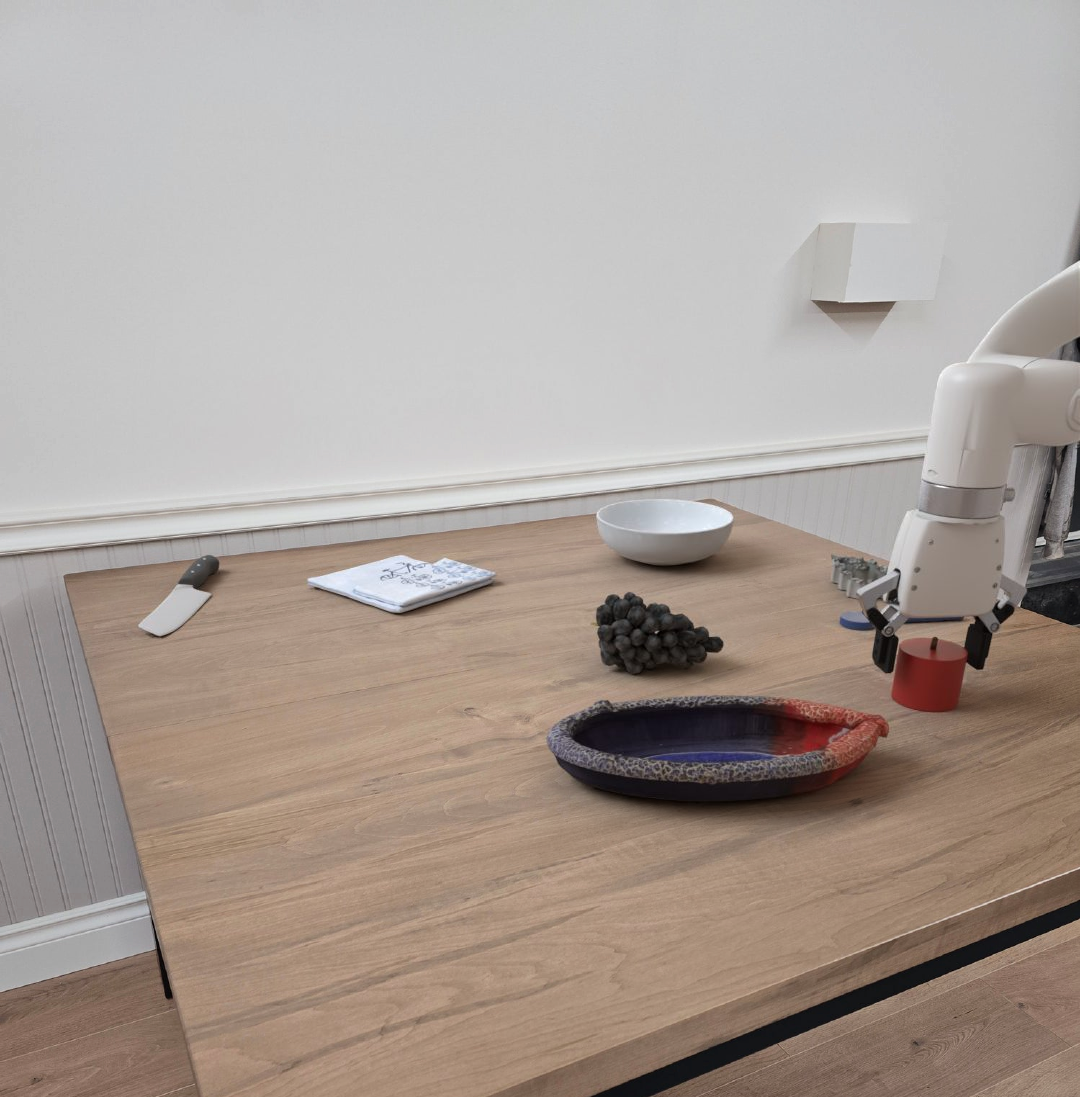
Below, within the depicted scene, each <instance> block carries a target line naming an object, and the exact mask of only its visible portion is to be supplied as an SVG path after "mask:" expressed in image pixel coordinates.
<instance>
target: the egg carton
mask: <svg viewBox="0 0 1080 1097" xmlns="http://www.w3.org/2000/svg"><path fill="white" fill-rule="evenodd" d="M830 557H831V561H832V565H831V571H830V572H831V573H830V582H831V583H833V584H838V585H837V589H839V590H840V591H846V593H845V594H846V596H845V597H848V598H852V599H856V600H858V598H857V595H856V592H857V590H858V589H860V588H862V587H864V586H866V585H868V584H870V583H871V582H873V581H875V580H877V579H879V578H881V577H883V576H885V575H887V571H888V567H889V566H886V565H883V564H878V561H877V560H876V559H874V558H870V559H869V561H868V560H864V559H865V558H864V556H860V557H858V558H857V557H856V556H850V557H849V556H847V555H844V556H837V555H834V554H832V553H831V554H830ZM879 598H880V599H882V600H883V595H882V596H880V597H878V599H879Z"/></svg>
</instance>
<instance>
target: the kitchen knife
mask: <svg viewBox="0 0 1080 1097" xmlns="http://www.w3.org/2000/svg"><path fill="white" fill-rule="evenodd" d="M219 569H220V561H219V558H217V557H215V556H213V555H211V554H205V555H204V556H201V557H199V558H197V559H196V560H195V561H194V562H193V563H192V564H191V565H189V567H188V568H187V569H186V571H184V573H183V574H182V575H181V576H180V578H179V580H178V581H177V584H176V586H175V587H174V588H173V590H172V591H171V592H170V593H169V594H168V596H166V597H165V599H164V600H163V601H162V602H161V603H160V604H159V605H158V606H157V607H156V608H155V609H153V611H151V612H150V613H149V614H148V615H147V616H146V617H145V618H143V620H141V621H140V623H138V626H137V627H138V628H139V629H141V630H143V631H145V632H148V633H150V634H152V635H155V636H157V637H162V636H163V637H164V636H165V635H168V634H170V633H172V632H174V631H176V630H178V629H179V628H181V626H183V625H184V624H185V623H186V622H187V621H188V620H189V619H190V618H192V617H193V615H195V614H196V612H198V610H200V609H201V607H202V606H203V605H204V604H205V603H206V602H207V601H208V599H209V598H210V597H211V596H212V593H210V592H207V591H202V590H199V589H197V588H199V587H200V586H202V585H203V584H204V582H205V581H206V579H207V577H208V576H209V575H212V574H217V573H218V572H219Z"/></svg>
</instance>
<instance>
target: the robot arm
mask: <svg viewBox="0 0 1080 1097" xmlns="http://www.w3.org/2000/svg"><path fill="white" fill-rule="evenodd" d="M1078 338H1080V260H1078V261H1076V262H1075V263H1073V264H1072V265H1070V266H1068V267H1067V268H1065V269H1063V270H1061V272H1059V273H1057V274H1056V275H1054V276H1053V277H1051V278H1049V280H1047V281H1046V282H1044V283H1043V284H1041V285H1040V286H1038V287H1037V288H1035V289H1033V290H1032V291H1031V292H1029V293H1028V294H1026V295H1025V296H1024V297H1022V298H1021V299H1020V300H1018V301H1017V302H1016V303H1014V304H1013V305H1012V306H1011V307H1010V308H1009V309H1008V310H1007V311H1006V312H1005V313H1004V314H1003V315H1001V316H1000V317H999V319H998V320H997V321H996V323H994V325H992V327H991V328H990V330H989V331H988V332H987V334H985V336H984V337H983V338H982V340H981V341H980V343H979V344H978V345H977V346H976V348H975V349H974V351H973V352H972V353H971V355H970V356H969V358H968V359H967V361H966V362H957V363H953V364H950V365H947V366H946V367H945V368H944V369H943V370H942V371H941V373H940V374H939V376H938V379H937V384H936V388H935V393H934V399H933V404H932V405H933V406H932V411H931V418H930V423H929V429H928V435H927V441H926V446H925V453H924V459H923V462H922V463H923V464H922V470H921V475H920V481H919V487H918V494H917V498H916V500H917V501H916V506H915V509H914V510H908V511H906V513H905V515H904V518H903V519H902V522H901V525H900V527H899V529H898V533H897V535H896V538H895V541H894V545H893V548H892V551H891V555H890V558H889V564H888V566H887V567H888V571H887V575H885V576H883V577H881V578H879V579H877V580H875V581H873V582H871V583H870V584H868V585H866V586H864V587H862V588H860V589H858V590H857V592H856V595H857V598H858V599H857V598H856V599H857V601H858V604H859V606H860V608H861V612H862V613H863V615H864V616H865V617H866V618H867V619H868V620H869V621H870V623H871V624H872V625H873V627H875V628H874V629H875V634H874V641H873V646H872V652H871V658H872V662H873V664H874V666H876V667H877V668H878V669H880V670H881V672H882V673H884V674H892V673H893V672H894V671H895V666H896V660H897V654H898V648H899V640H900V639H899V636H898V635H897V634H896V632H897V631H898V630H899V629H900V628H902V626H903V625H904V624H905V623H907V622H906V621H907V620H908V619H909V618H944V617H964V618H966V617H968V618H969V617H971V618H972V619H973V621H974V623H969V625H968V626H967V631H966V635H965V639H964V644H963V647H964V648H965V649H966V650H967V652H968V656H967V661H966V664H968V665H969V666H970V667H972V668H973V669H975V670H976V671H981V670H984V668H985V664H986V660H987V658H988V657H989V653H990V648H991V643H992V639H993V635H994V634H996V633H998V632H999V631H1000V629H1001V625H1002V624H1003V623H1004V622H1005V621H1007V620H1008V619H1009V618H1010V617H1011V616H1013V615H1014V614H1015V609H1016V607H1018V605H1020V602H1021V601H1022V600H1023V599H1024V597H1025V596H1026V595H1027V593H1028V589H1027V588H1026V587H1025V586H1024V585H1022V584H1020V583H1018V582H1017V581H1015V580H1014V579H1012V578H1010V577H1008V576H1006V575H1004V574H1003V568H1004V560H1005V549H1006V548H1005V547H1006V523H1005V522H1006V520H1005V516H1003V515H1001V512H1002V511H1003V506H1004V504H1005V503H1006V502H1007V503H1011V502H1013V501H1014V500H1015V497H1016V490H1015V488H1014V487H1008V483H1007V482H1008V477H1009V471H1010V467H1011V463H1012V458H1013V453H1014V448H1015V446H1016V445H1018V444H1027V445H1036V446H1045V447H1060V446H1061V447H1062V446H1068V445H1071V444H1074V443H1077V442H1080V362H1078V361H1072V360H1066V359H1065V360H1063V359H1054V358H1053V359H1052V358H1047V357H1048V356H1050V355H1051V354H1052V353H1054V352H1055V351H1057V349H1059V348H1061V347H1063V346H1064V345H1066V344H1068V343H1070V342H1072V341H1074V340H1075V339H1078ZM1000 589H1001V590H1003V594H1002V596H1001V600H998V596H999V592H1000ZM882 595H883V599H882V600H883V602H884V603H885V604H887V605H886V606H885V607H884V608H882V609H881V611H880V610H879V609H878V604H877V600H878V599H879V597H880V596H882ZM997 600H998V601H997Z"/></svg>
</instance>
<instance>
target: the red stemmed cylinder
mask: <svg viewBox="0 0 1080 1097" xmlns="http://www.w3.org/2000/svg"><path fill="white" fill-rule="evenodd" d="M967 656H968V652H967V650H966V649H965V648H964V646H962V645H960V644H958V643H955V642H953V641H949V640H946V639H941V638H939V637H938V636H933V637H911V638H908V639H907V638H906V639H904V640H902V641H901V642H900V643H898V649H897V655H896V661H895V667H894V675H893V680H892V689H891V693H890V695H891V698H892V699H893V701H895V702H896V703H897V704H900V705H901V706H903V707H905V708H909V709H911V710H912V709H913V710H916V711H921V712H930V713H940V712H941V713H942V712H947V711H952V710H954V709H955V708H956V707H957V706H958V705H959V700H960V695H961V692H962V686H963V681H964V677H965V676H964V675H965V670H966V666H967V663H966V661H967Z"/></svg>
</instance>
